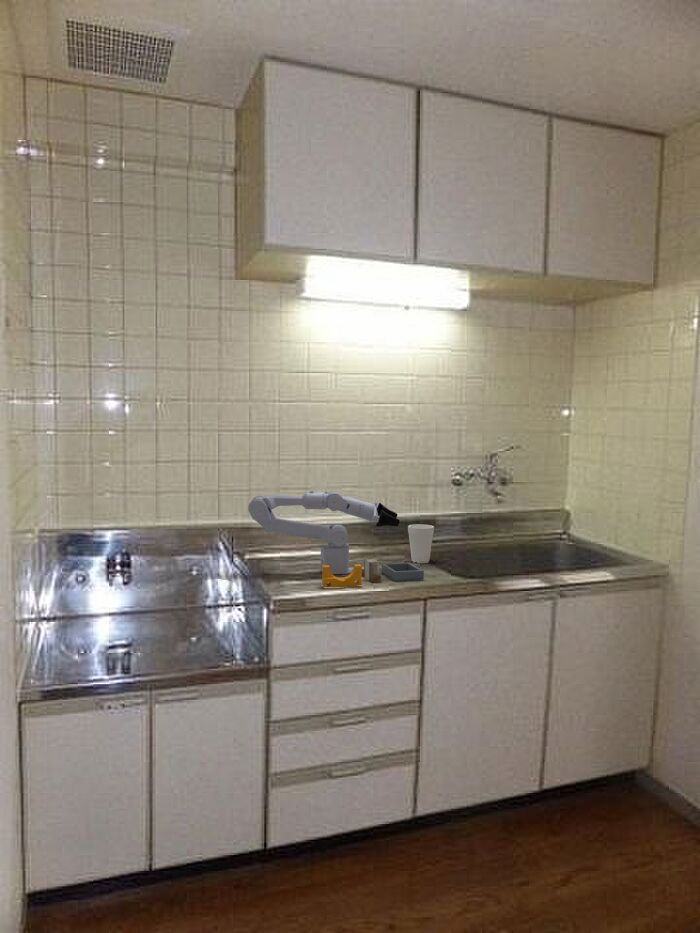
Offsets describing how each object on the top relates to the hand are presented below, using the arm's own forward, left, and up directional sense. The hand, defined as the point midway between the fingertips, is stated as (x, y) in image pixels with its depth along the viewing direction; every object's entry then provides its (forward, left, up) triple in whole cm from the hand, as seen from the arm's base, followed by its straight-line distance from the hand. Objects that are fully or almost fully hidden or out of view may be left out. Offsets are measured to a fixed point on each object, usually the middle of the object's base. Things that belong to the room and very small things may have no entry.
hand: (397, 520), depth 224 cm
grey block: (-12, -8, -18) cm, 23 cm away
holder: (-12, -8, -18) cm, 23 cm away
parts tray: (-1, -7, -18) cm, 19 cm away
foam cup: (+14, +14, -18) cm, 27 cm away
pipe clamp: (-23, -15, -18) cm, 33 cm away
